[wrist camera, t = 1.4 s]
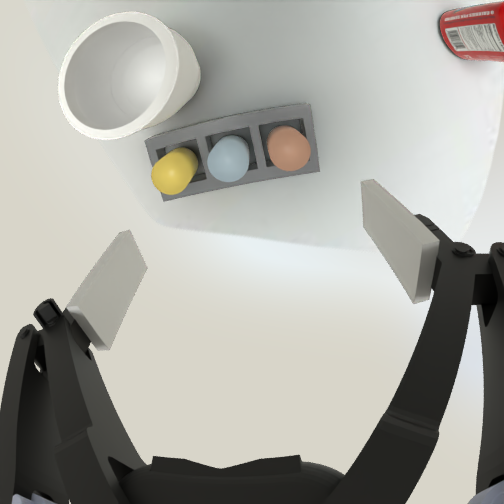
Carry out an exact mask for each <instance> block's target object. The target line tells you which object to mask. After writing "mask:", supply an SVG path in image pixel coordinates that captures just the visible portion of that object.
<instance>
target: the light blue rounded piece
mask: <svg viewBox="0 0 504 504" xmlns="http://www.w3.org/2000/svg"><path fill="white" fill-rule="evenodd" d="M249 154H250V150H249V146H248V144H247V142H246V141H245V140H244V139H243V138H241V137H239V136H236V135H228V136H225V137H223V138H221V139H220V140H219V141H218V142H217V143H216V145H215V146H214V147H213V149H212V150H211V152H210V154H209V156H208V160H207V165H208V169H209V171H210V173H211V174H212V175H213V176H214V177H215V178H216V179H218V180H220V181H223V182H233V181H237V180H239V179H240V178H242V177H243V176H244V175H245V173H246V172H247V170H248V167H249Z"/></svg>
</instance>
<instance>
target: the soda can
mask: <svg viewBox="0 0 504 504" xmlns="http://www.w3.org/2000/svg"><path fill="white" fill-rule="evenodd" d="M440 30H441V34H442V36H443V39H444V41H445V43H446V44H447V46H448V47H449V48H450V50H451V51H452V52H453V53H454V54H456V55H457V56H458V57H460V58H462V59H466V60H484V61H499V62H504V1H503V2H494V3H487V4H480V5H474V6H469V7H464V8H459V9H454V10H450V11H447V12H445V13H444V14H443V15H442V16H441V19H440Z"/></svg>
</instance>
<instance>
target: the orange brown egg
mask: <svg viewBox="0 0 504 504" xmlns="http://www.w3.org/2000/svg"><path fill="white" fill-rule="evenodd" d="M267 148H268V152H269V155H270V159H271V161H272V162H273V164H274V165H275V166H277V167H278V168H280V169H282V170H285V171H295V170H298V169H300V168H302V167H303V166H304V165H305V164H306V163H307V162H308V160H309V158H310V154H311V148H310V144H309V142H308V140H307V139H306V138H305V137H304V136H303V135H302V134H301V133H300V132H299V131H297V130H296V129H295V128H293V127H291V126H287V125H281V126H278V127H276V128H274V129H273V130H272V131H271V132H270V133H269V135H268V137H267Z"/></svg>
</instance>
